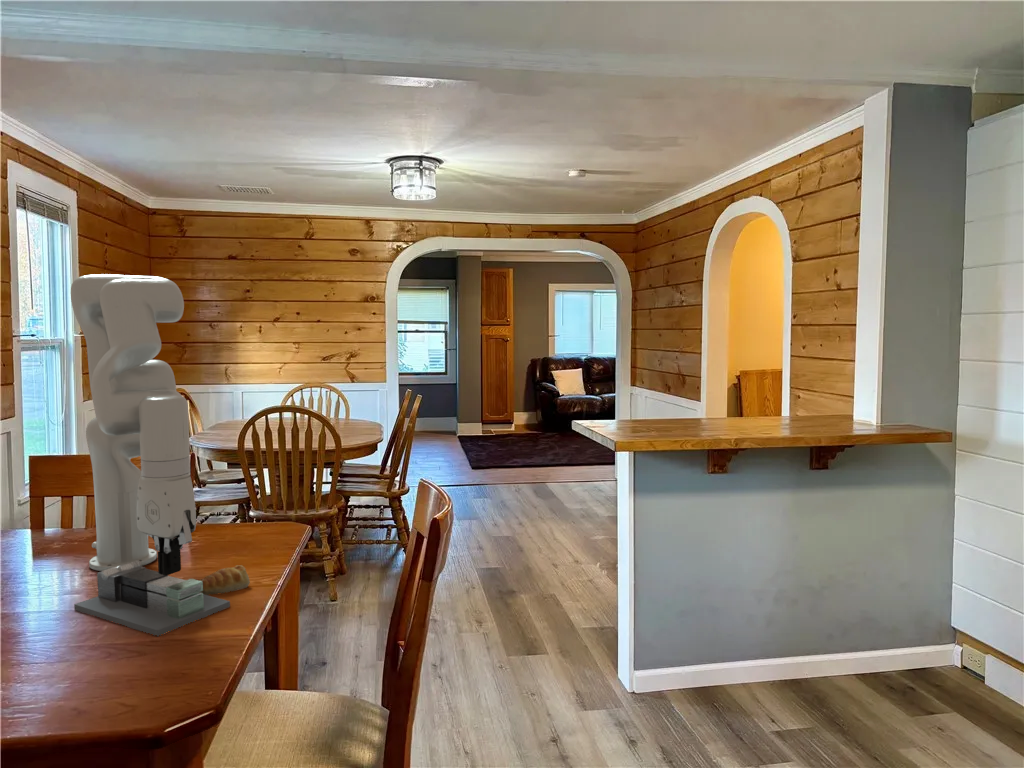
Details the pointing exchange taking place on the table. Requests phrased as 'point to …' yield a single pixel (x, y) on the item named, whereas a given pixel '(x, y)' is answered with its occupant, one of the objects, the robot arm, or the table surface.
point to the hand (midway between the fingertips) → (169, 572)
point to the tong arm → (162, 583)
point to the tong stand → (144, 593)
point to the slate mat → (146, 614)
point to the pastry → (225, 580)
